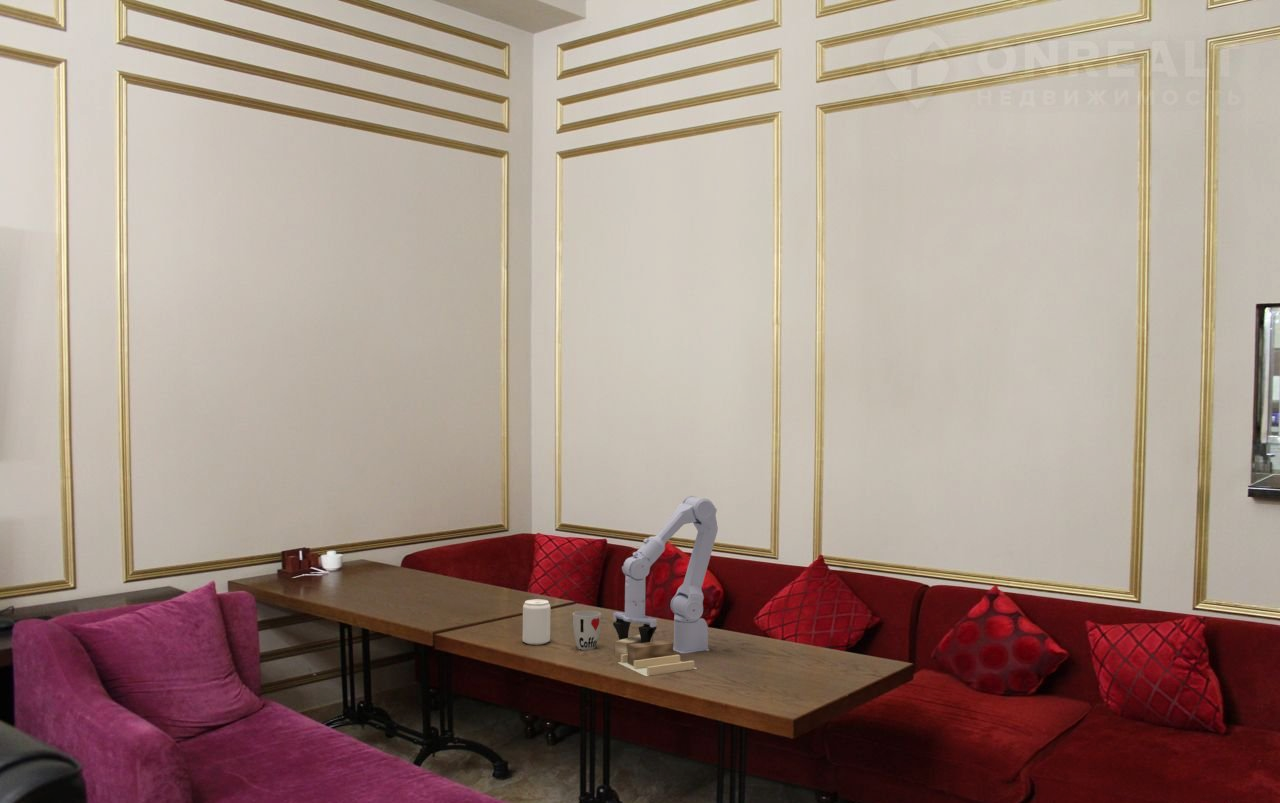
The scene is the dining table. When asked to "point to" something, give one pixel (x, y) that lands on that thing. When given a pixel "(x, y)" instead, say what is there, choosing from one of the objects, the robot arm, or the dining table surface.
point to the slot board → (658, 665)
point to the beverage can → (536, 622)
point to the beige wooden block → (626, 645)
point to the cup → (586, 629)
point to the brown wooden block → (649, 650)
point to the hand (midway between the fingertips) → (634, 648)
